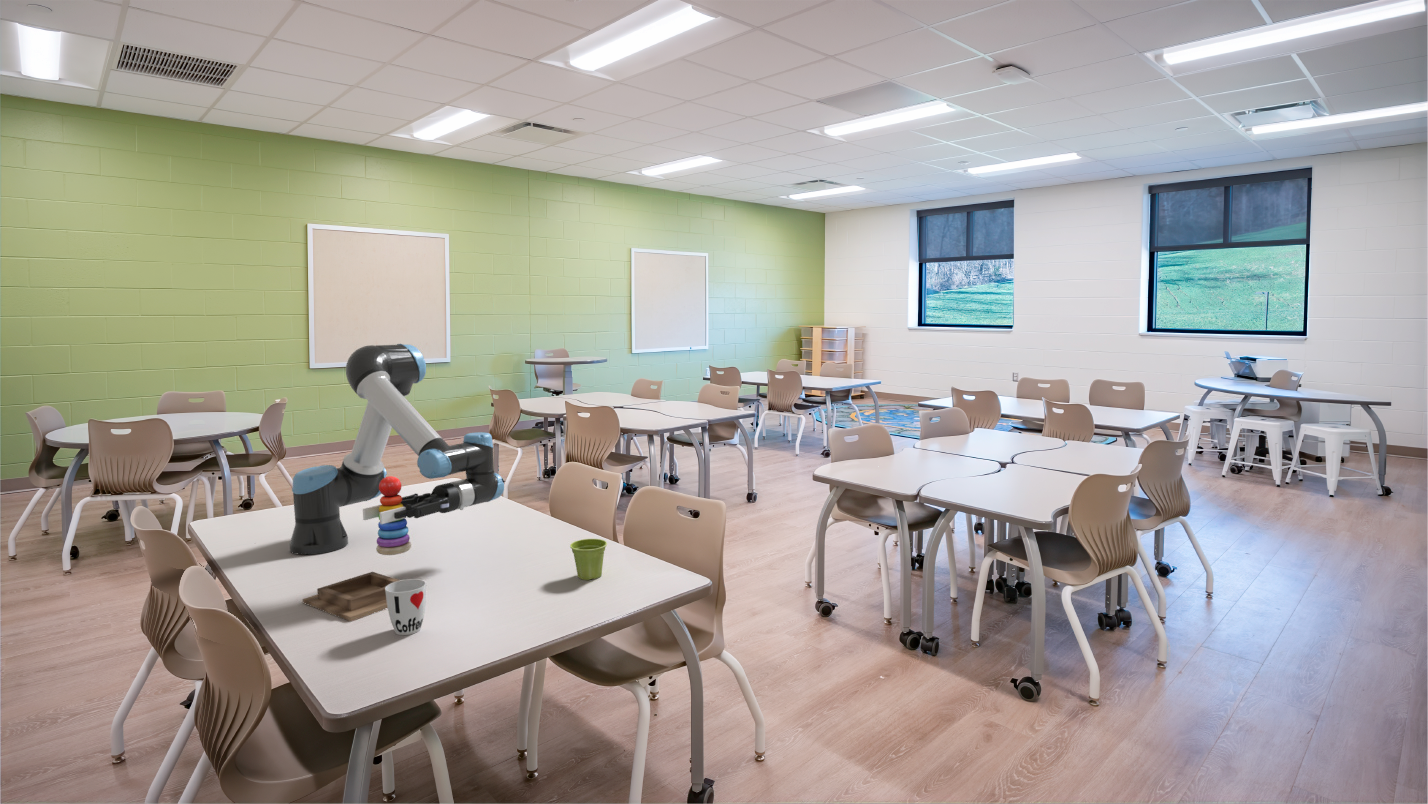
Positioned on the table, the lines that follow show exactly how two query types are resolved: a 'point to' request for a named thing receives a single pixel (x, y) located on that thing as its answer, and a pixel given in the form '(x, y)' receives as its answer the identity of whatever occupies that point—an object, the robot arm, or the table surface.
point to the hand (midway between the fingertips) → (372, 516)
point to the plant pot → (588, 557)
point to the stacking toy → (395, 532)
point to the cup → (406, 605)
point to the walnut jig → (353, 596)
